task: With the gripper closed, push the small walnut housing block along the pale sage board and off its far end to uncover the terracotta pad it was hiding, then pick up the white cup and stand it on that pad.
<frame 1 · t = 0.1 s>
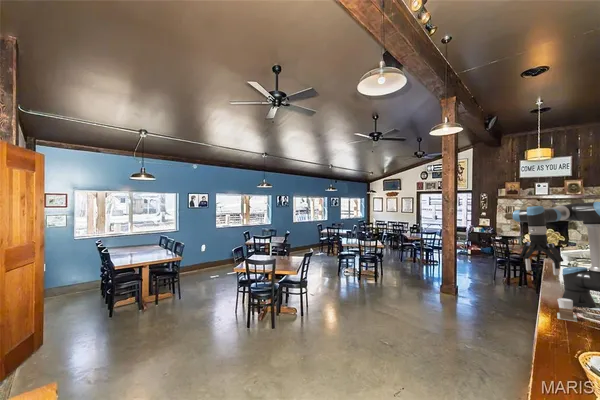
hand: (542, 272, 152), 28 cm above the table, fingers open, 13 cm apart
board: (566, 318, 156), on the table
housing: (566, 317, 155), point 1 cm above the table, touching board
white cup: (566, 311, 166), on the table
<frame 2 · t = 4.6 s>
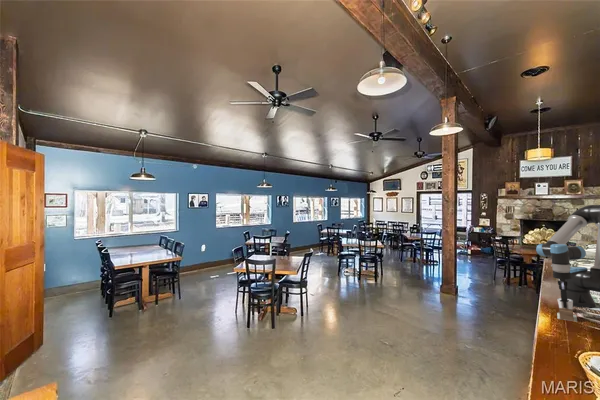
hand: (565, 313, 157), 3 cm above the table, fingers closed
housing: (566, 318, 154), point 1 cm above the table, touching board, gripper
everything else where it was.
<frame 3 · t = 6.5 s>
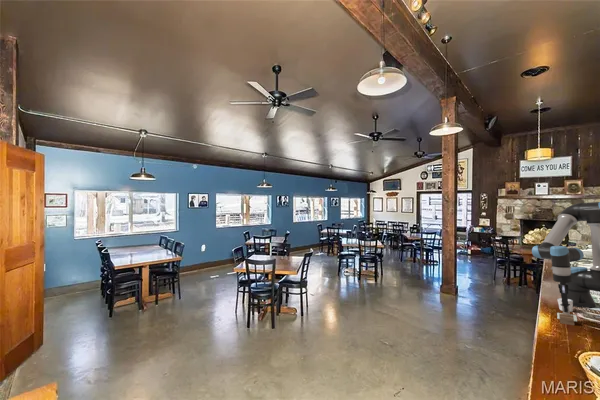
hand: (566, 317, 151), 2 cm above the table, fingers closed
housing: (567, 324, 149), on the table
everything else where it was.
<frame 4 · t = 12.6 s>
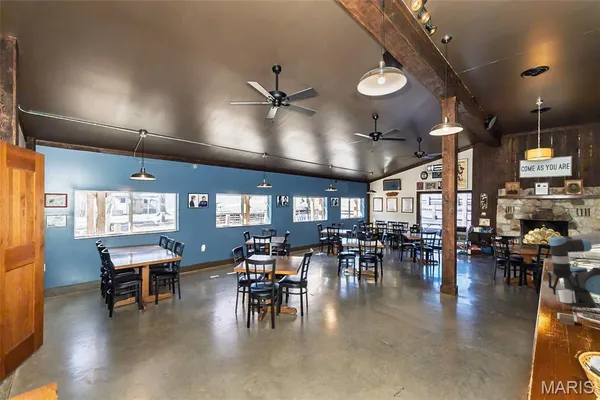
hand: (566, 301, 166), 6 cm above the table, fingers closed on white cup, 7 cm apart
white cup: (566, 301, 166), point 6 cm above the table, touching gripper
everything else where it was.
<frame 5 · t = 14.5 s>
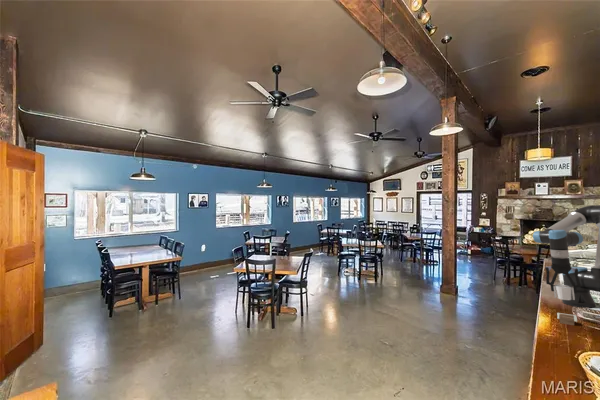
hand: (564, 298, 155), 12 cm above the table, fingers closed on white cup, 7 cm apart
white cup: (564, 298, 155), point 11 cm above the table, touching gripper
everything else where it was.
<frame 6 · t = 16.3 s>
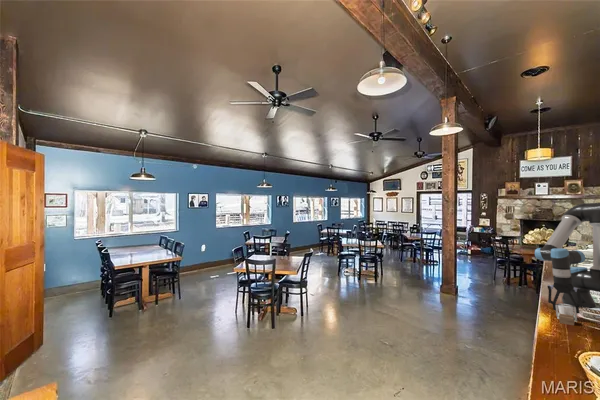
hand: (566, 317, 155), 1 cm above the table, fingers closed on board, white cup, 7 cm apart
white cup: (566, 318, 155), point 1 cm above the table, touching board, gripper
everything else where it was.
when the fingers open (1 cm above the table, at t = 16.7 s): white cup stays where it is, resting on board.
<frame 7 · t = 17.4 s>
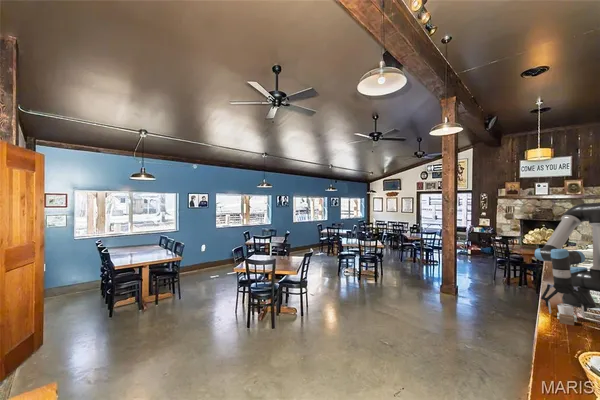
hand: (566, 314, 155), 3 cm above the table, fingers open, 13 cm apart
white cup: (566, 318, 155), point 1 cm above the table, touching board
everything else where it was.
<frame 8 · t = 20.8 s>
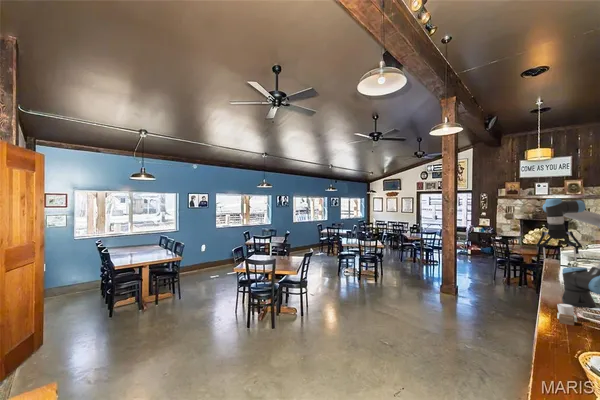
hand: (559, 258, 167), 32 cm above the table, fingers open, 13 cm apart
nothing on the table moved.
at the end: white cup 0.1 cm from the target spot, point 0.7 cm above the table; white cup tilted 0°; housing moved 8.0 cm from its start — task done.
